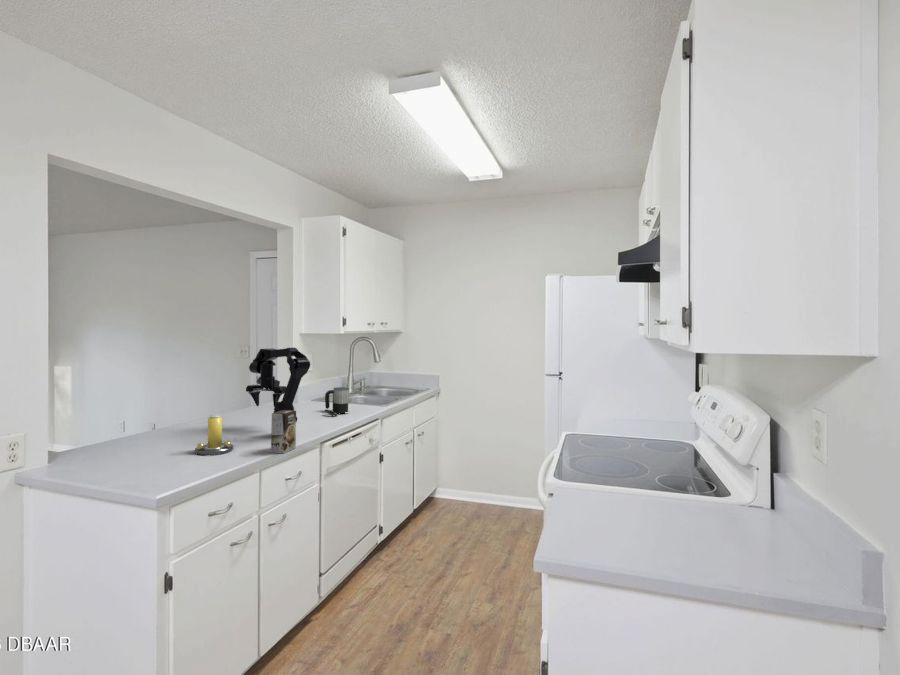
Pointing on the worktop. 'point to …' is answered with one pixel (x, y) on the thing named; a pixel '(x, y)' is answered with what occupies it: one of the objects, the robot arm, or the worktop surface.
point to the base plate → (205, 450)
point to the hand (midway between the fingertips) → (266, 406)
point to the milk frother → (337, 400)
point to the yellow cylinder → (214, 431)
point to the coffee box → (283, 431)
